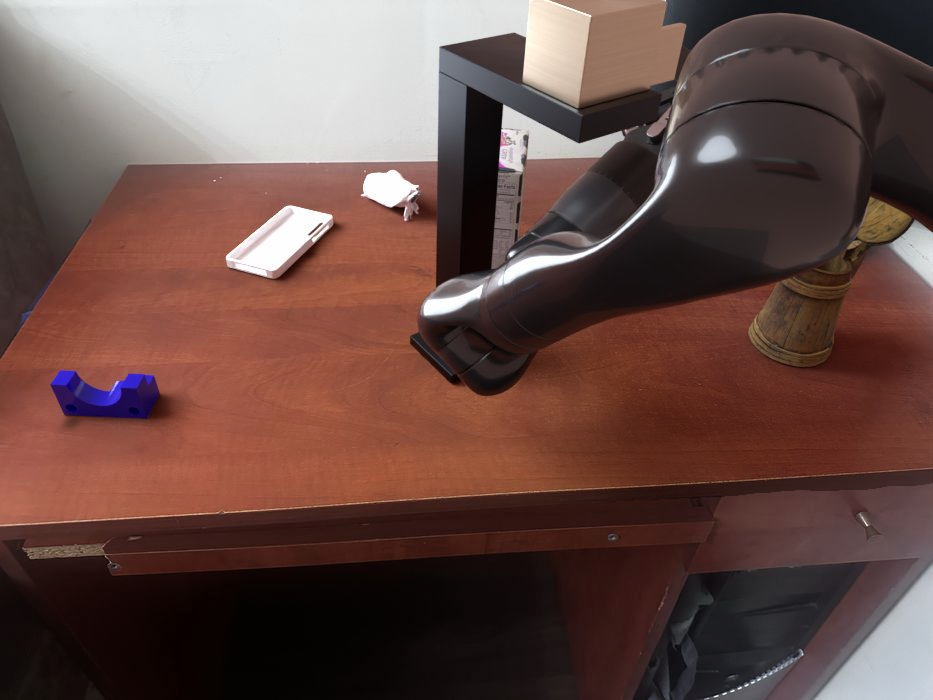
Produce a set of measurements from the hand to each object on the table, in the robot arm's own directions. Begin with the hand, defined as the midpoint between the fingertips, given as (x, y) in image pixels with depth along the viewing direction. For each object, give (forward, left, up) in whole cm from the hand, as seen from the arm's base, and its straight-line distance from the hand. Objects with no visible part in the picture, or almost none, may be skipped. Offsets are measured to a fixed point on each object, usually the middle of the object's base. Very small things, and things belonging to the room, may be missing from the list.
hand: (745, 78), depth 64 cm
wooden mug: (-15, +3, -29) cm, 33 cm away
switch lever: (+6, +3, 0) cm, 7 cm away
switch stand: (+20, +4, -29) cm, 36 cm away
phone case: (+44, -25, -29) cm, 59 cm away
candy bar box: (+17, -16, -29) cm, 37 cm away
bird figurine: (+29, -34, -29) cm, 53 cm away
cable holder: (+60, +3, -29) cm, 67 cm away
